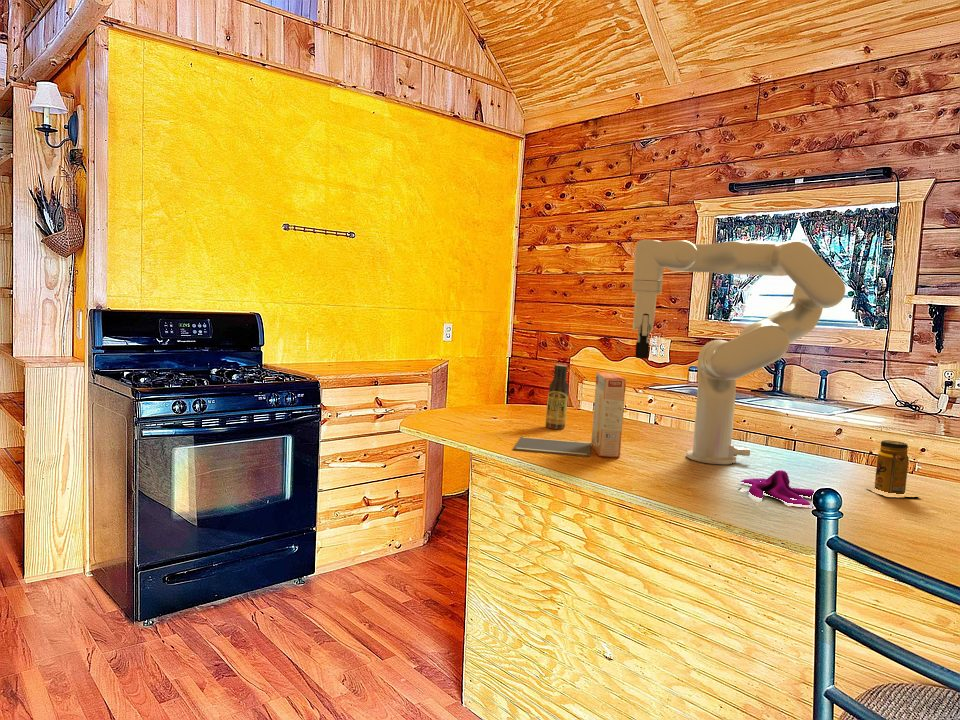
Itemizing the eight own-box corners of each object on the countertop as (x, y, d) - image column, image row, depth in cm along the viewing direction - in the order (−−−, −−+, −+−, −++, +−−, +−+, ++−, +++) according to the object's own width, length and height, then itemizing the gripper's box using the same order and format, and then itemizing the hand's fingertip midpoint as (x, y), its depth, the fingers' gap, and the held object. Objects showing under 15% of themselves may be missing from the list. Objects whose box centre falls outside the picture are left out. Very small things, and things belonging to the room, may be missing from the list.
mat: (591, 444, 195) (591, 442, 195) (589, 456, 179) (589, 455, 179) (520, 438, 198) (520, 436, 198) (513, 450, 183) (513, 448, 182)
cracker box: (621, 458, 179) (627, 378, 177) (598, 457, 179) (603, 377, 177) (612, 446, 193) (617, 372, 191) (590, 445, 193) (595, 371, 191)
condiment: (865, 489, 160) (870, 438, 159) (899, 490, 161) (904, 439, 160) (886, 498, 153) (892, 445, 152) (922, 499, 154) (928, 446, 153)
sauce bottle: (543, 428, 214) (547, 365, 212) (547, 425, 220) (551, 363, 218) (564, 430, 212) (568, 366, 210) (567, 427, 218) (571, 364, 216)
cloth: (746, 479, 166) (748, 454, 165) (831, 496, 154) (834, 469, 154) (713, 498, 148) (715, 470, 148) (806, 519, 137) (809, 489, 136)
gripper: (631, 287, 188) (626, 354, 190) (633, 286, 174) (627, 359, 176) (659, 289, 187) (654, 356, 189) (664, 288, 172) (658, 361, 174)
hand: (641, 357), depth 182 cm, fingers closed
